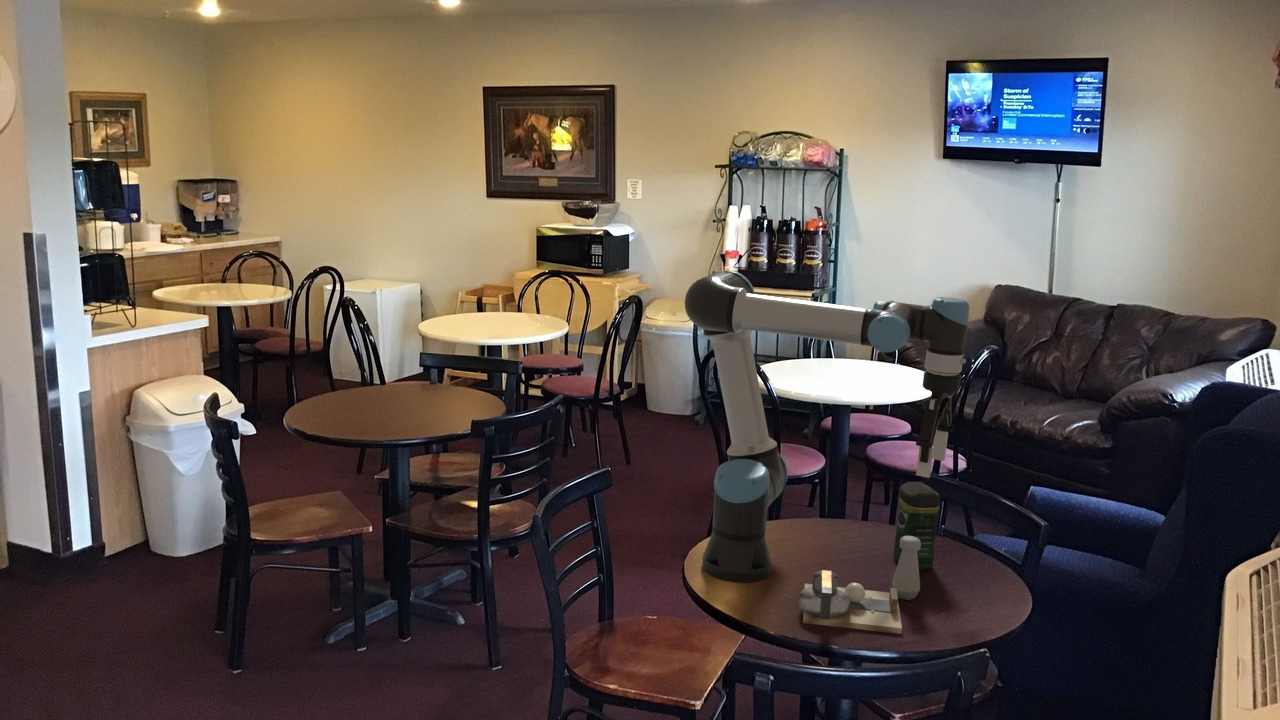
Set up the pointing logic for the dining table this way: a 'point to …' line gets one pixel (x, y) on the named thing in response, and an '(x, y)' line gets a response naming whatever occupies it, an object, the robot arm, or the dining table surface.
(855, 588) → the ball
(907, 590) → the salt shaker
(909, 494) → the coffee jar
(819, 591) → the grey round-based piece
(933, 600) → the dining table surface
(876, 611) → the stand
